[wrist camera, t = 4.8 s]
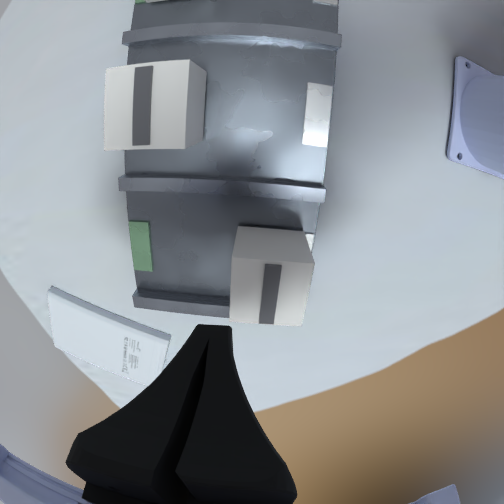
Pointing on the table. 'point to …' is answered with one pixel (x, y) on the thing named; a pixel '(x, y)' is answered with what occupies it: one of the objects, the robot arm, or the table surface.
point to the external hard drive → (106, 338)
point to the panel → (230, 141)
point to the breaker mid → (154, 105)
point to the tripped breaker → (270, 276)
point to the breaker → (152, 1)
